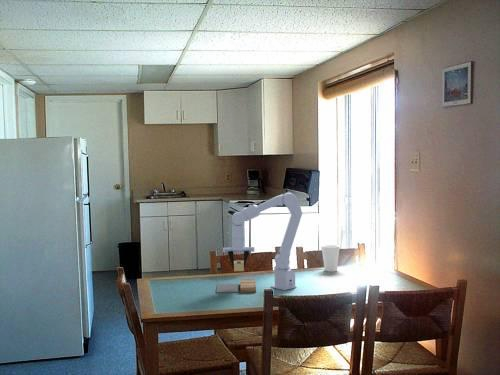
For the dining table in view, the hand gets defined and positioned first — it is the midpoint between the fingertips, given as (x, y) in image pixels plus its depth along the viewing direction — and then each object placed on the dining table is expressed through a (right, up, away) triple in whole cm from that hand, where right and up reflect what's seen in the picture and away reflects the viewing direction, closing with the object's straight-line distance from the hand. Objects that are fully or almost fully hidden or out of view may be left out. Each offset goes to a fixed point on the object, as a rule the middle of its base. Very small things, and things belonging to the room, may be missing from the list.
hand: (238, 267), depth 272 cm
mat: (-5, -10, 0) cm, 11 cm away
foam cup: (+48, -7, +38) cm, 61 cm away
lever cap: (0, -1, 0) cm, 1 cm away
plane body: (+4, -10, +1) cm, 11 cm away
